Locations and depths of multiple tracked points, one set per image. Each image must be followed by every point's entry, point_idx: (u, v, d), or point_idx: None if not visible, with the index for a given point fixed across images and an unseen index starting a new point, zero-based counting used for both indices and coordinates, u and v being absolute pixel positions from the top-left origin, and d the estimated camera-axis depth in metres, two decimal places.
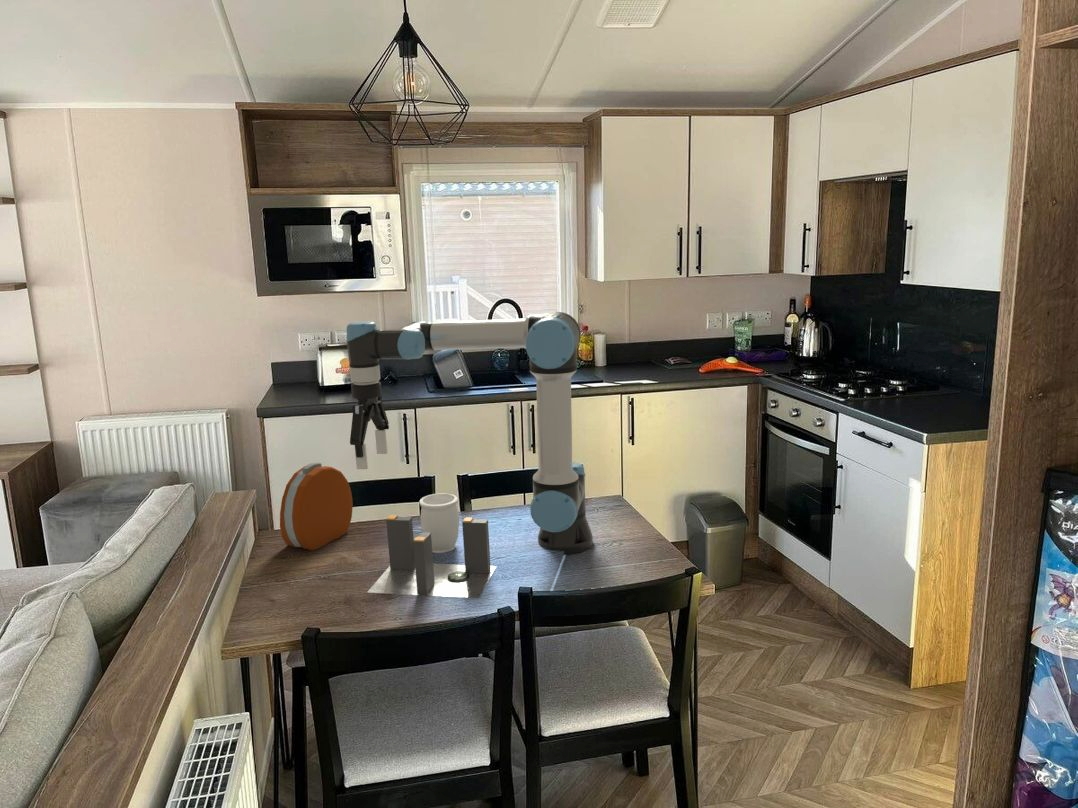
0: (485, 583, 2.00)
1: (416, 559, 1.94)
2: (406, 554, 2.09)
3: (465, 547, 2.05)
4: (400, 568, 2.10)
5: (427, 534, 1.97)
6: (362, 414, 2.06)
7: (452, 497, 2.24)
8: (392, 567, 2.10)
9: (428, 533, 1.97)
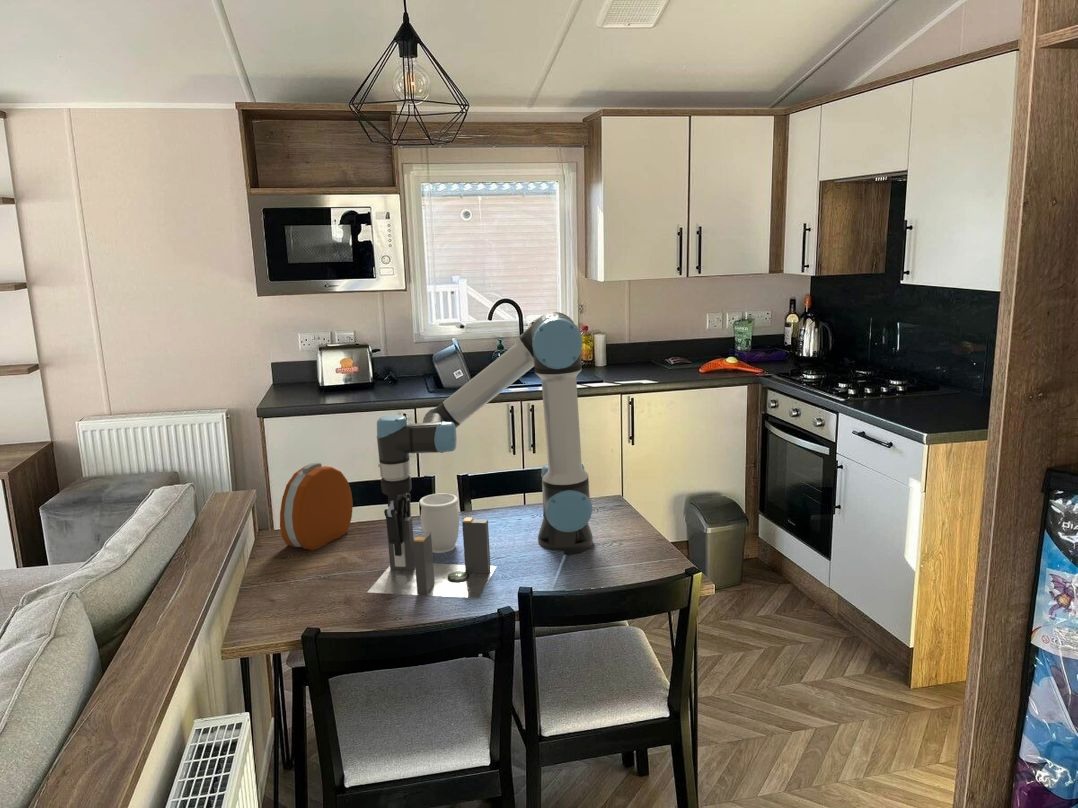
0: (485, 583, 2.00)
1: (416, 559, 1.94)
2: (406, 554, 2.09)
3: (465, 547, 2.05)
4: (400, 568, 2.10)
5: (427, 534, 1.97)
6: (395, 516, 2.02)
7: (452, 497, 2.24)
8: (392, 567, 2.10)
9: (428, 533, 1.97)
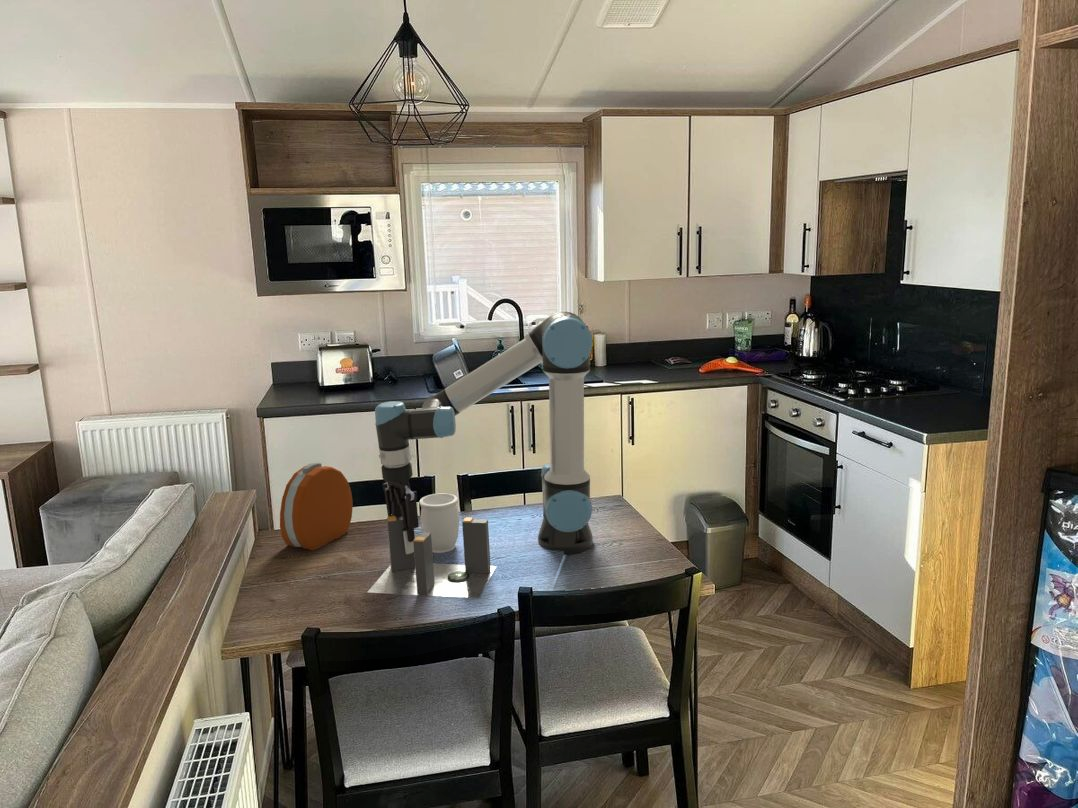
0: (485, 583, 2.00)
1: (416, 559, 1.94)
2: None
3: (465, 547, 2.05)
4: (402, 568, 2.10)
5: (427, 534, 1.97)
6: None
7: (452, 497, 2.24)
8: (394, 569, 2.09)
9: (428, 533, 1.97)
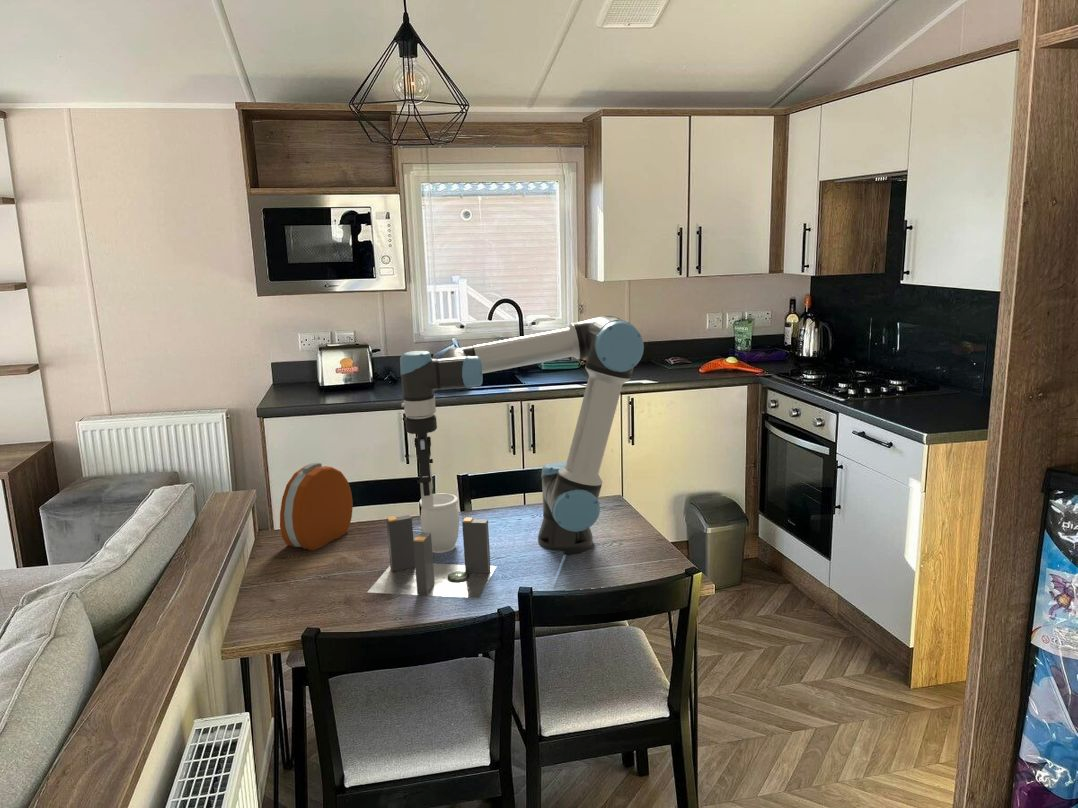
0: (485, 583, 2.00)
1: (416, 559, 1.94)
2: (409, 553, 2.10)
3: (465, 547, 2.05)
4: (403, 568, 2.10)
5: (427, 534, 1.97)
6: (428, 449, 1.94)
7: (452, 497, 2.24)
8: (395, 569, 2.09)
9: (428, 533, 1.97)
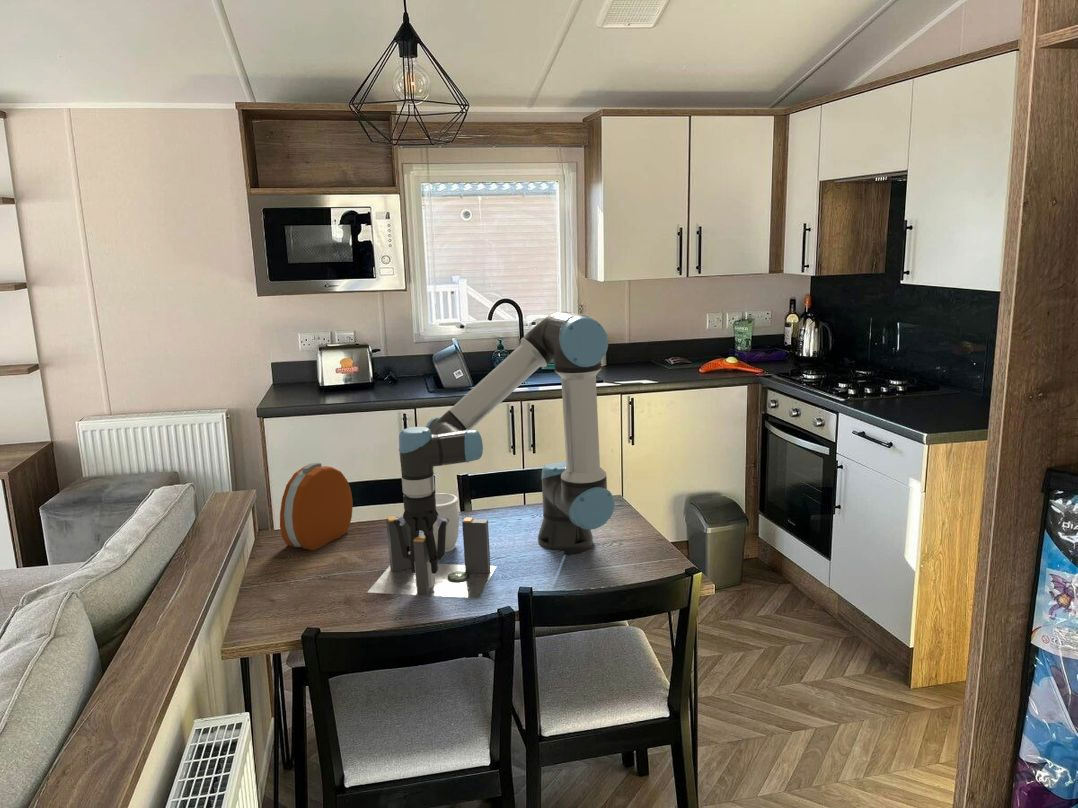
0: (485, 583, 2.00)
1: (416, 559, 1.94)
2: None
3: (465, 547, 2.05)
4: (403, 568, 2.10)
5: None
6: (398, 528, 1.95)
7: (452, 497, 2.24)
8: (395, 569, 2.09)
9: None
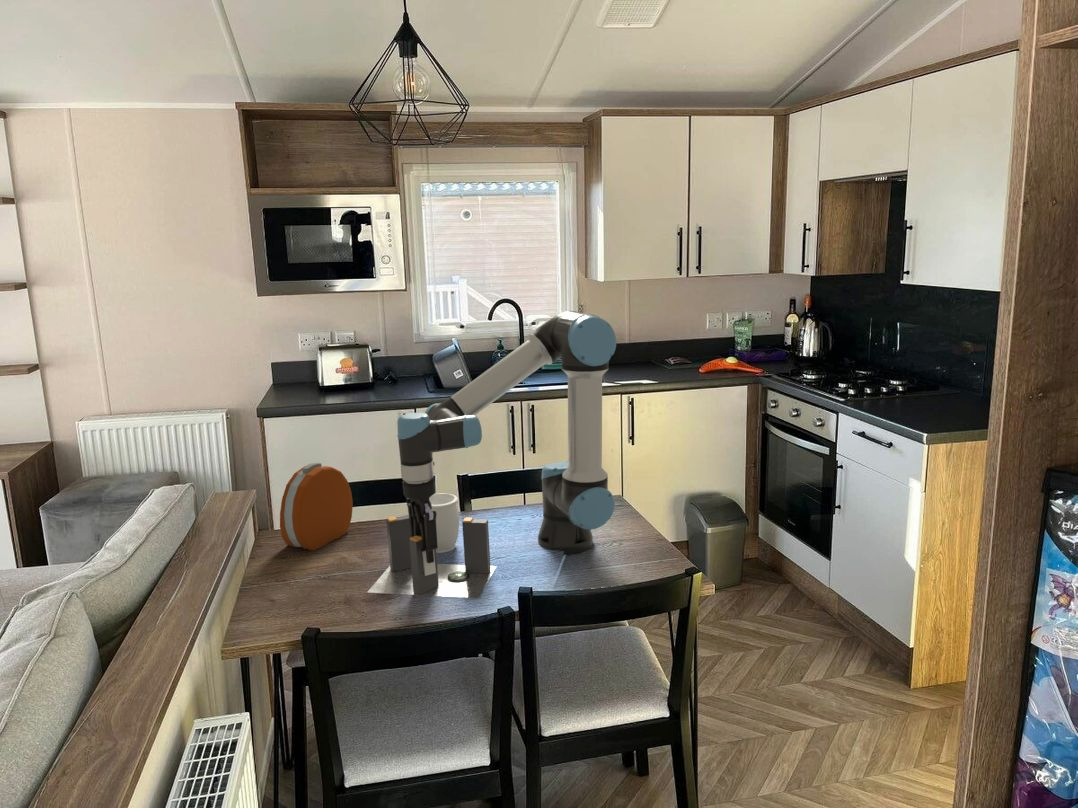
0: (485, 583, 2.00)
1: (411, 557, 1.95)
2: (409, 552, 2.10)
3: (465, 547, 2.05)
4: (403, 568, 2.10)
5: None
6: (408, 507, 1.98)
7: (452, 497, 2.24)
8: (395, 569, 2.09)
9: None
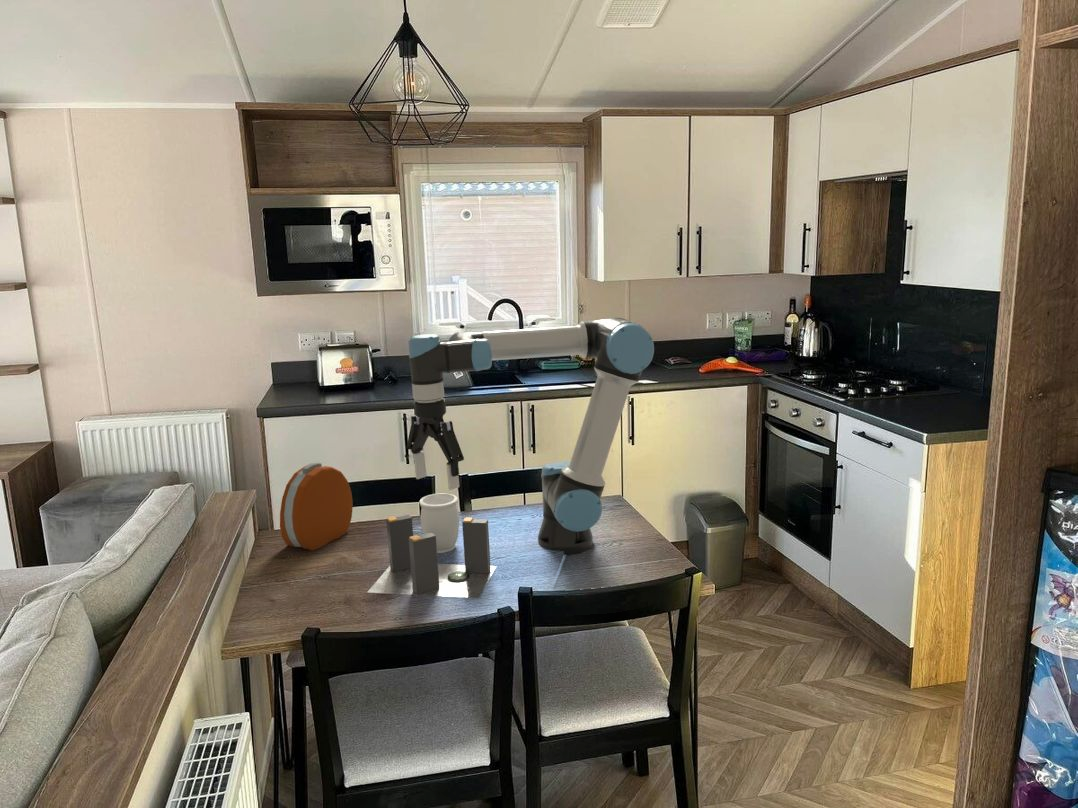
0: (485, 583, 2.00)
1: (410, 556, 1.95)
2: (409, 552, 2.10)
3: (465, 547, 2.05)
4: (403, 568, 2.10)
5: (430, 536, 1.96)
6: (412, 424, 2.02)
7: (452, 497, 2.24)
8: (395, 569, 2.09)
9: (432, 535, 1.96)
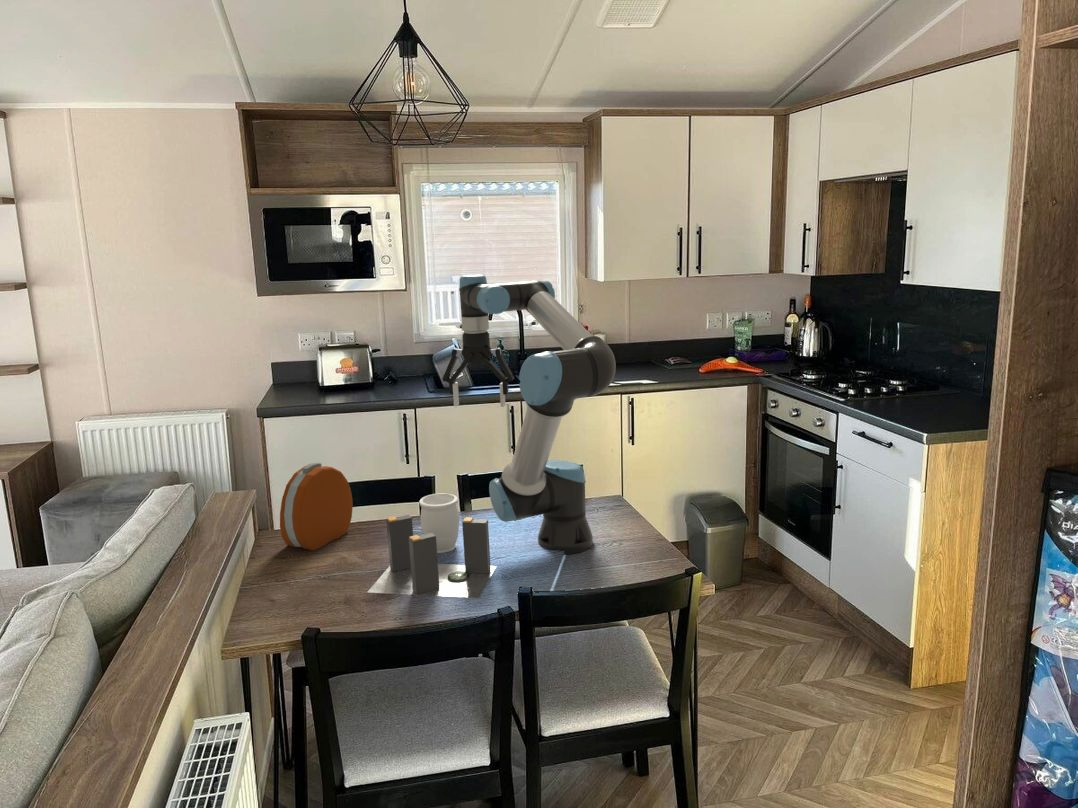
0: (485, 583, 2.00)
1: (410, 556, 1.95)
2: (409, 552, 2.10)
3: (465, 547, 2.05)
4: (403, 568, 2.10)
5: (430, 536, 1.95)
6: (453, 357, 2.29)
7: (452, 497, 2.24)
8: (395, 569, 2.09)
9: (432, 535, 1.96)
